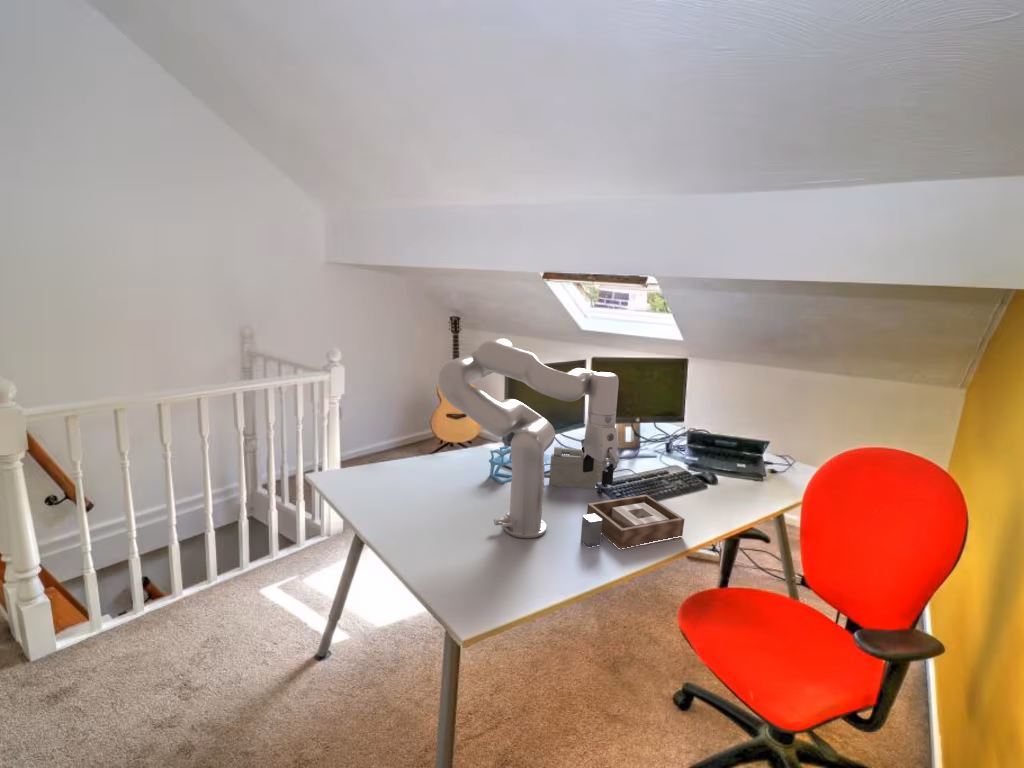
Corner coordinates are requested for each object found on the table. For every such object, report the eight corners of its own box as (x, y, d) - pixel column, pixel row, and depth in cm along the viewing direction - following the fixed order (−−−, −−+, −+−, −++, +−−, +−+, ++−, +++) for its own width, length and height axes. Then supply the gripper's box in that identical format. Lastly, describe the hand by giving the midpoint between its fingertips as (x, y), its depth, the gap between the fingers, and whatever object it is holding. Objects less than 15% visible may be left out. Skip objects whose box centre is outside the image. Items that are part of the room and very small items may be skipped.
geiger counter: (607, 448, 195) (537, 443, 197) (609, 454, 189) (536, 448, 191) (604, 485, 198) (535, 479, 200) (605, 492, 192) (534, 486, 194)
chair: (498, 472, 206) (500, 441, 203) (516, 478, 200) (517, 447, 198) (485, 477, 200) (486, 446, 197) (502, 484, 195) (503, 452, 192)
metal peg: (587, 548, 154) (590, 521, 152) (580, 541, 157) (582, 515, 155) (600, 545, 155) (602, 519, 154) (592, 539, 159) (594, 513, 157)
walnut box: (619, 550, 153) (621, 530, 152) (586, 521, 169) (587, 503, 168) (682, 537, 162) (684, 519, 161) (644, 511, 178) (646, 494, 177)
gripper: (632, 426, 142) (626, 488, 146) (596, 409, 157) (592, 465, 161) (607, 428, 139) (602, 491, 143) (573, 411, 154) (569, 468, 158)
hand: (597, 477), depth 152 cm, fingers open, 9 cm apart
